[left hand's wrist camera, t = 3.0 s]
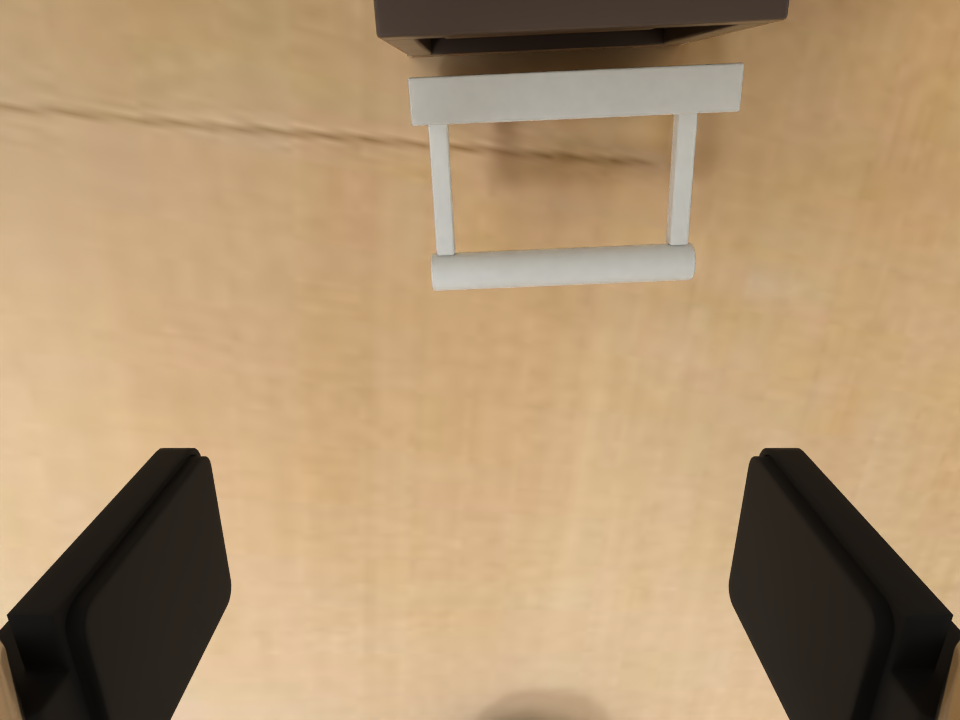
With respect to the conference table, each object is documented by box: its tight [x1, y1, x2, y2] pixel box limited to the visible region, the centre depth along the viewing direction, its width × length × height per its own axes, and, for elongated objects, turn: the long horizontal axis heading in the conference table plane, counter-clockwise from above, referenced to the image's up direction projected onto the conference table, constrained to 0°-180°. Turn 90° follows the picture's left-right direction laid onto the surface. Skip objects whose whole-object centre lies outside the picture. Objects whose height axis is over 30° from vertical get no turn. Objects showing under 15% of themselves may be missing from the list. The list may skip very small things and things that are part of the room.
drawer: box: [408, 28, 744, 291], centre depth 20 cm, size 17×9×7 cm, turn 2°
